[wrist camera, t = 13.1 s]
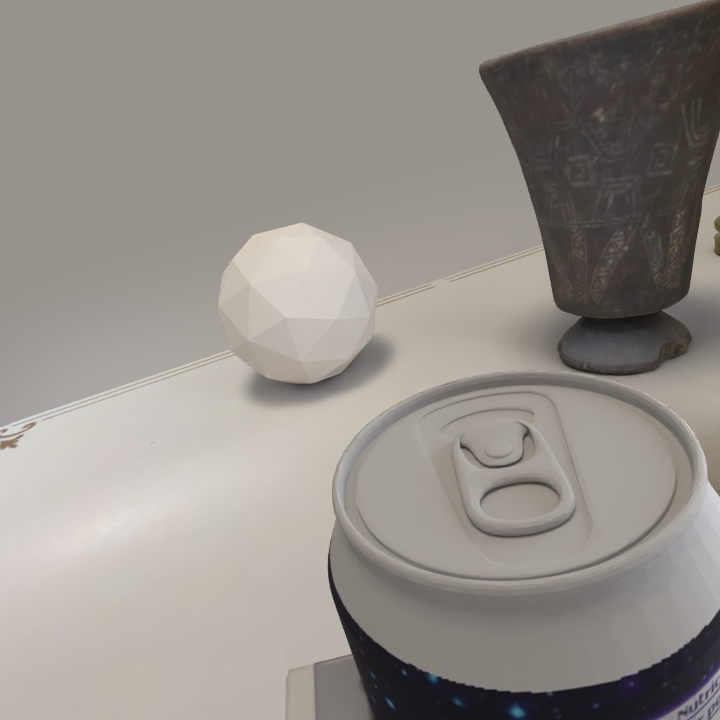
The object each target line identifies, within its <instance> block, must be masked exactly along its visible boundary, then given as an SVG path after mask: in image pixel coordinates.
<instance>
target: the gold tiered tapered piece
mask: <svg viewBox="0 0 720 720" xmlns="http://www.w3.org/2000/svg"><path fill="white" fill-rule="evenodd" d="M714 226H715V229H716V230H717V231H718V232H719V233H717V234H716V235H715V236H714V239H715V252H716V253H718V254H720V216H719V217H717V218H716V220H715V222H714Z"/></svg>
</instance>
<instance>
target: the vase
mask: <svg viewBox="0 0 720 720" xmlns="http://www.w3.org/2000/svg"><path fill="white" fill-rule="evenodd" d="M479 73H480V76H481V79H482V81H483V83H484V84H485V86H486V88H487V90H488V92H489V94H490V95H491V97H492V99H493V101H494V103H495V105H496V107H497V109H498V111H499V113H500V115H501V118H502V120H503V122H504V125H505V127H506V130H507V132H508V134H509V137H510V139H511V142H512V144H513V147H514V149H515V151H516V154H517V156H518V159H519V162H520V165H521V168H522V172H523V175H524V178H525V181H526V184H527V187H528V191H529V194H530V197H531V201H532V204H533V207H534V210H535V213H536V217H537V221H538V224H539V228H540V232H541V236H542V240H543V245H544V249H545V254H546V259H547V265H548V271H549V276H550V282H551V287H552V292H553V297H554V302H555V303H556V305H557V307H558V308H559V309H561V310H562V311H565V312H568V313H571V314H574V315H578V316H582V317H581V318H580V319H579V320H578V321H577V322H576V323H575V324H574V325H573V326H572V327H571V328H569V329H568V330H567V332H566V333H565V334H564V335H563V337H562V338H561V340H560V341H559V344H558V351H559V352H560V358H561V359H562V360H563V361H564V362H565V363H567V364H568V365H570V366H572V367H574V368H578V369H583V370H588V371H592V372H597V373H612V374H620V373H637V372H643V371H648V370H652V369H655V368H656V367H658V366H659V365H660V364H661V363H662V362H664V361H665V360H667V359H670V358H672V357H675V356H677V355H680V354H683V353H685V352H686V351H687V348H688V344H689V343H690V342H691V340H692V337H691V335H690V333H689V331H688V329H687V328H686V327H685V326H684V325H683V324H682V323H680V322H679V321H677V320H676V319H674V318H673V317H671V316H669V315H668V314H666V313H665V312H663V311H661V310H663V309H666V308H668V307H671V306H672V305H674V304H676V303H677V302H678V301H680V300H681V299H682V298H684V297H685V296H686V295H687V294H688V290H689V287H690V280H691V274H692V267H693V259H694V251H695V245H696V239H697V233H698V228H699V222H700V217H701V209H702V198H703V193H704V188H705V184H706V180H707V176H708V172H709V169H710V164H711V161H712V157H713V153H714V150H715V146H716V142H717V139H718V135H719V131H720V0H706V1H702V2H698V3H695V4H691V5H687V6H683V7H679V8H676V9H672V10H668V11H664V12H660V13H657V14H653V15H650V16H646V17H642V18H638V19H634V20H629V21H626V22H623V23H619V24H616V25H613V26H609V27H605V28H601V29H598V30H594V31H589V32H585V33H582V34H578V35H575V36H571V37H568V38H565V39H560V40H556V41H552V42H548V43H543V44H540V45H536V46H534V47H530V48H527V49H523V50H520V51H517V52H513V53H510V54H507V55H503V56H501V57H498V58H496V59H492V60H488V61H485V62H484V63H482V64H481V65H480V66H479Z"/></svg>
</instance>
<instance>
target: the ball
mask: <svg viewBox="0 0 720 720" xmlns="http://www.w3.org/2000/svg"><path fill="white" fill-rule="evenodd" d="M376 298H377V285H376V283H375V282H374V280H373V279H372V277H371V275H370V274H369V272H368V270H367V269H366V267H365V265H364V264H363V262H362V260H361V259H360V257H359V255H358V254H357V252H356V251H355V249H354V247H353V246H352V244H351V243H350V242H348V241H346V240H343V239H341V238H339V237H336V236H334V235H331V234H329V233H327V232H324V231H322V230H319V229H317V228H315V227H312V226H310V225H308V224H305V223H299V224H295V225H291V226H287V227H283V228H279V229H275V230H271V231H268V232H263V233H259V234H255V235H253V236H252V237H251V238H250V239H249V241H248V242H247V243H246V244H245V245H244V246H243V248H242V249H241V250H240V251H239V252H238V254H237V255H236V256H235V257H234V258H233V259H232V261H231V262H230V264H229V265H228V267H227V268H226V270H225V271H224V273H223V275H222V281H221V289H220V297H219V304H218V307H219V313H220V319H221V325H222V328H223V331H224V334H225V337H226V339H227V343H228V346H229V348H230V351H232V352H233V353H234V354H235V355H237V356H238V357H239V358H240V359H242V360H243V361H244V362H245V363H247V364H248V365H249V366H250V367H252V368H253V369H255V370H256V371H257V372H259V373H260V374H262V375H263V376H265V377H266V378H269V379H274V380H279V381H283V382H288V383H293V384H308V383H316V382H318V381H321V380H324V379H326V378H329V377H332V376H335V375H337V374H340V373H342V372H343V371H344V370H345V368H346V367H347V366H348V365H349V364H350V363H351V362H352V360H353V359H354V358H355V357H356V356H357V355H358V353H359V352H360V351H361V350H362V349H363V348H364V347H365V345H366V344H367V343H368V342H369V341H370V340H371V339H372V337H373V335H374V323H375V311H376Z"/></svg>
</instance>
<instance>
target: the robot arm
mask: <svg viewBox="0 0 720 720" xmlns="http://www.w3.org/2000/svg"><path fill="white" fill-rule="evenodd" d="M286 720H376V719H375V717H374V714H373V712H372V709H371V706H370V703H369V700H368V698H367V695H366V692H365V689H364V686H363V683H362V680H361V677H360V675H359V672H358V669H357V666H356V663H355V660H354V657H353V654H350V655H346V656H342V657H338V658H334V659H330V660H326V661H321V662H317V663H314V664H310V665H306V666H302V667H298V668H294V669H291V670H289V671H288V675H287V679H286Z"/></svg>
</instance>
